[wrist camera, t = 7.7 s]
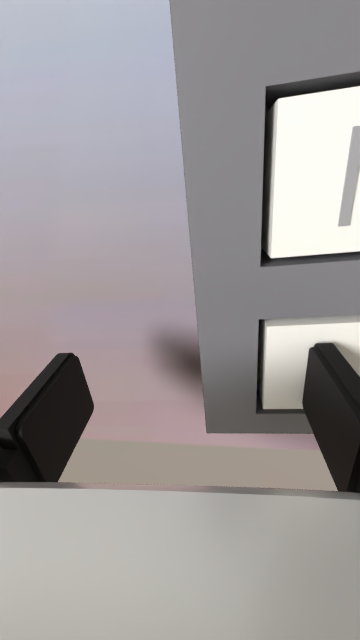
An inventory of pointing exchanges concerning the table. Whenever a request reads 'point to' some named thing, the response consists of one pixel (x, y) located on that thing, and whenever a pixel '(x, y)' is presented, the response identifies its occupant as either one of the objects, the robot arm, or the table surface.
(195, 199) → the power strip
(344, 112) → the middle button
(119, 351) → the table surface
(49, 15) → the table surface
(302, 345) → the button
